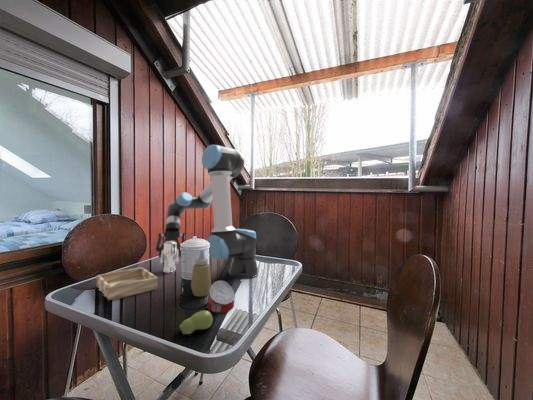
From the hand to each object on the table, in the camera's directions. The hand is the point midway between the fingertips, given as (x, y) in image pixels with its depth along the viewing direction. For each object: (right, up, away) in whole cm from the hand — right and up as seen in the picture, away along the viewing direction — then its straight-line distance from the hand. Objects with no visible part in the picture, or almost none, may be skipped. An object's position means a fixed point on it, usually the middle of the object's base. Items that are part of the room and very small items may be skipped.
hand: (169, 262), depth 125 cm
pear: (+27, -9, -49) cm, 56 cm away
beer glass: (-1, -6, +4) cm, 7 cm away
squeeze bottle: (+22, -7, -23) cm, 32 cm away
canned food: (+32, -8, -33) cm, 46 cm away
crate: (-10, -6, -20) cm, 23 cm away
